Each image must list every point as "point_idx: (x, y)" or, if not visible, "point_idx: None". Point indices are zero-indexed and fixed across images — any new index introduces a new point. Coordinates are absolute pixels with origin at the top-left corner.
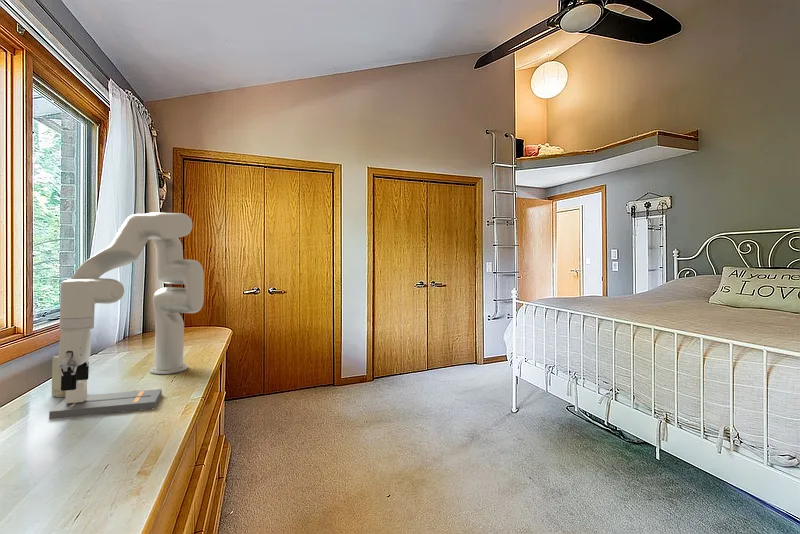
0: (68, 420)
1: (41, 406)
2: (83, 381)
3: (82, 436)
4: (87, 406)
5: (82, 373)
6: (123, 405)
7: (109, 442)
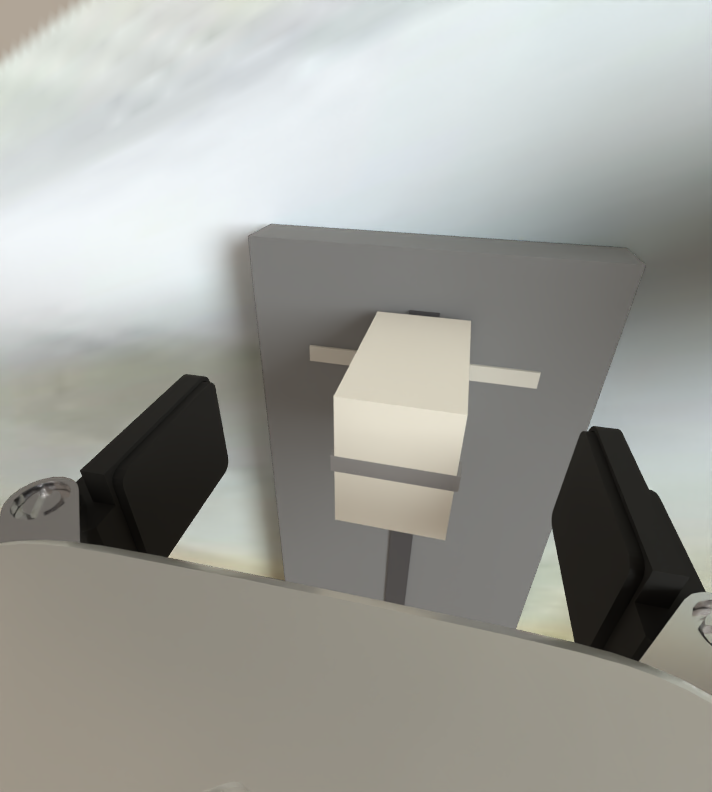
0: (228, 337)
1: (684, 17)
2: (380, 518)
3: (41, 419)
4: (300, 433)
5: (576, 550)
6: (284, 558)
7: (5, 490)
